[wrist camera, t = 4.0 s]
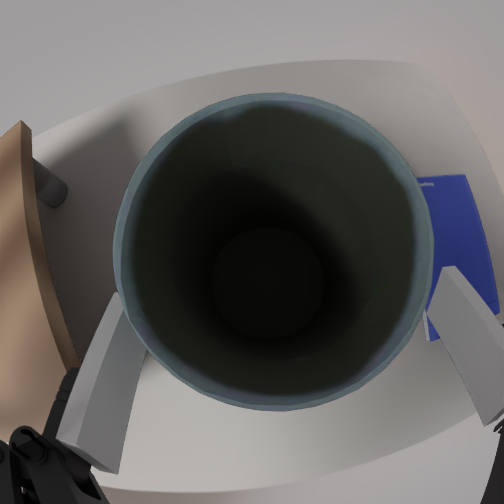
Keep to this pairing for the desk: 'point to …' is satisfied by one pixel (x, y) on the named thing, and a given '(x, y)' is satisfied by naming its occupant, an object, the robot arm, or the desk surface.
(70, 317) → the desk surface
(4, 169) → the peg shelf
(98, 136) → the desk surface
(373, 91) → the desk surface
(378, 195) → the teal plant pot
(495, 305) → the hard drive
